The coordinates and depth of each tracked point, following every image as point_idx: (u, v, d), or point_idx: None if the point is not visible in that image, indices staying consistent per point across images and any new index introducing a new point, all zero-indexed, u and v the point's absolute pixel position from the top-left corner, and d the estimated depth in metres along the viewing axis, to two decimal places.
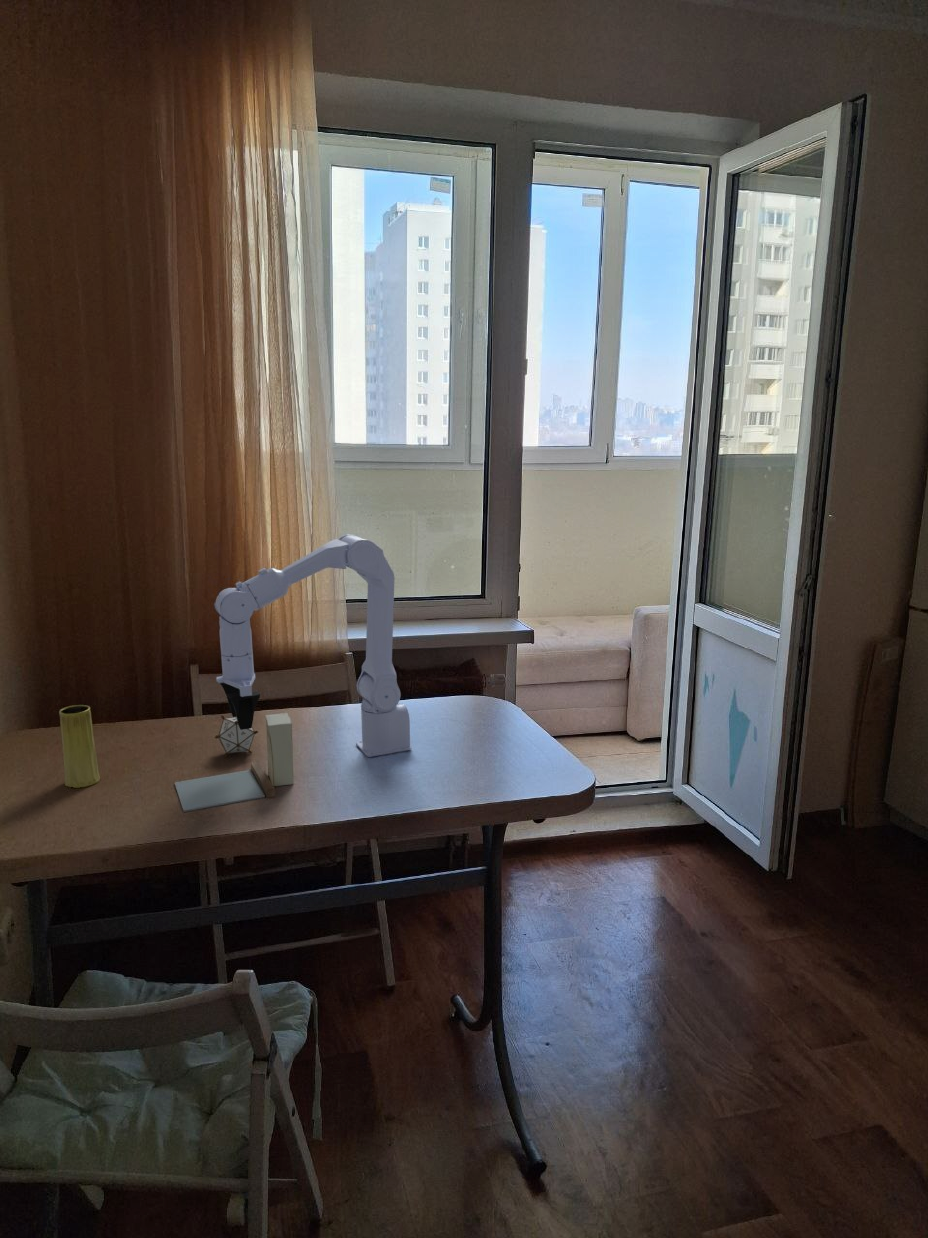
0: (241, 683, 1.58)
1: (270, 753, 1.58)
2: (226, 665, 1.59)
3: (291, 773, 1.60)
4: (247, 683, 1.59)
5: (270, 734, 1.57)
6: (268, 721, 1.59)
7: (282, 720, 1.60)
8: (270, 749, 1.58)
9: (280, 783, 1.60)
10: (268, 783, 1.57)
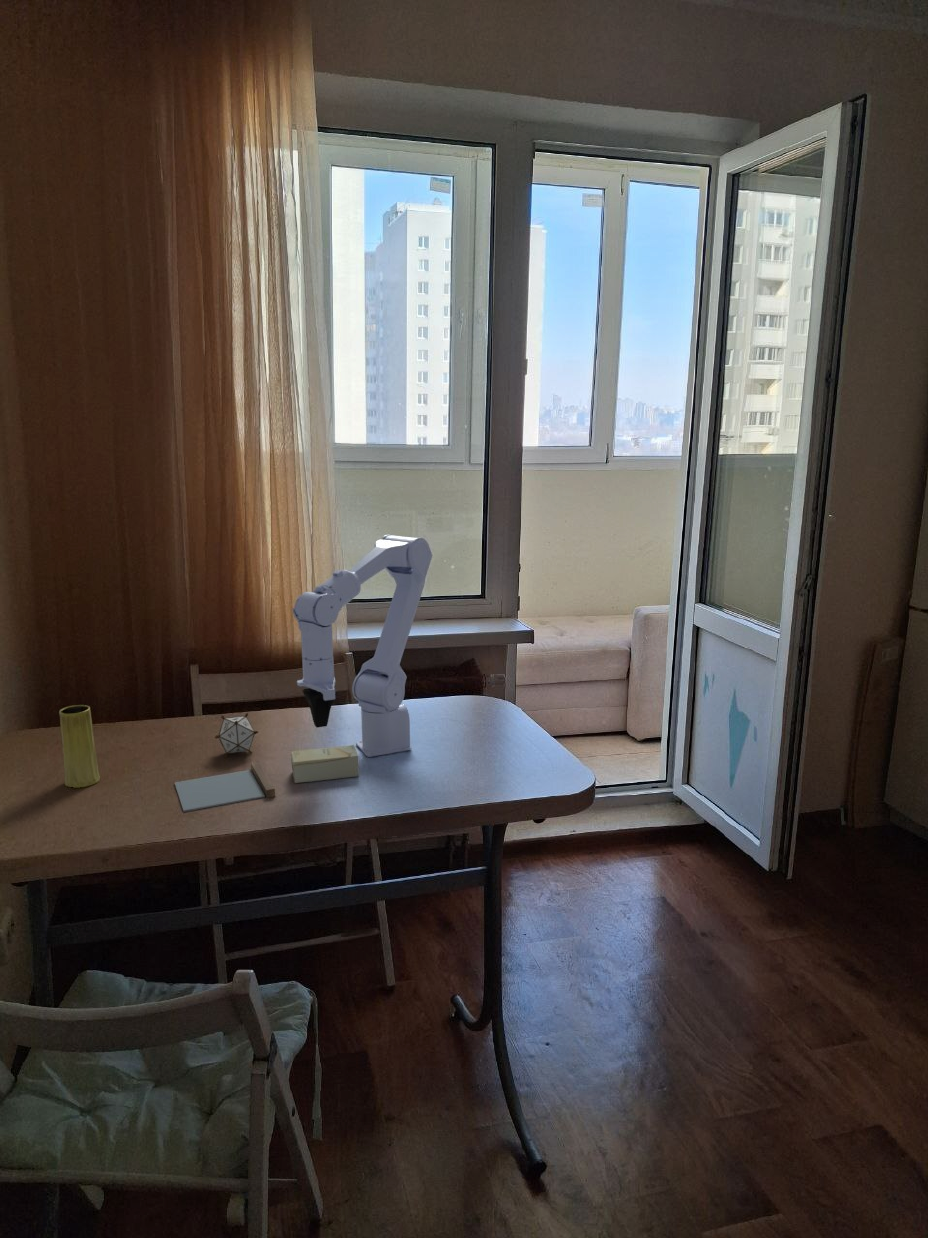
0: (323, 687, 1.58)
1: (329, 759, 1.62)
2: (308, 669, 1.59)
3: (306, 780, 1.61)
4: (329, 687, 1.58)
5: (349, 758, 1.63)
6: None
7: None
8: (333, 759, 1.62)
9: (296, 771, 1.60)
10: (268, 783, 1.57)
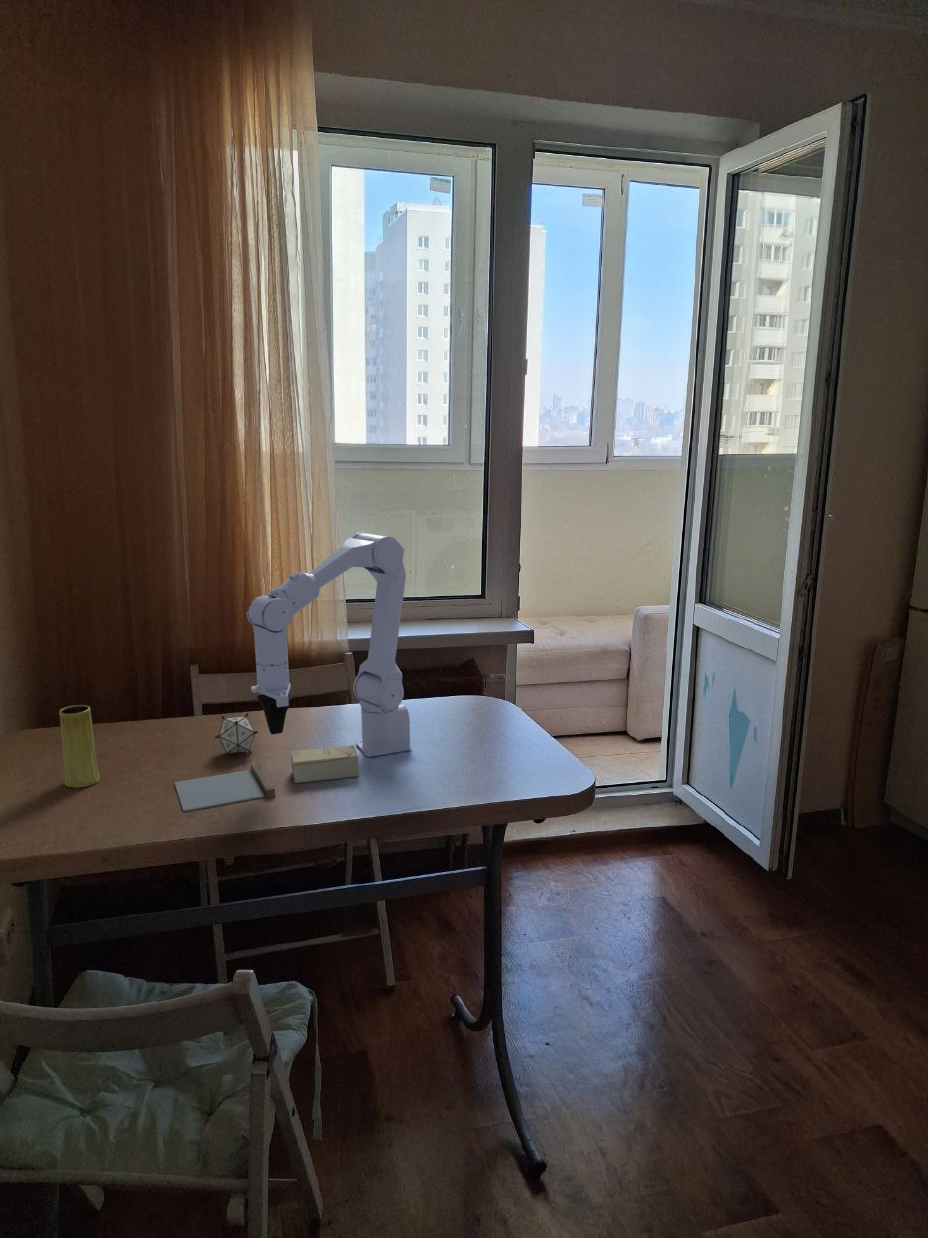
0: (277, 693, 1.54)
1: (329, 759, 1.62)
2: (261, 675, 1.56)
3: (306, 780, 1.61)
4: (283, 693, 1.55)
5: (349, 758, 1.63)
6: None
7: None
8: (333, 759, 1.62)
9: (296, 771, 1.60)
10: (268, 783, 1.57)
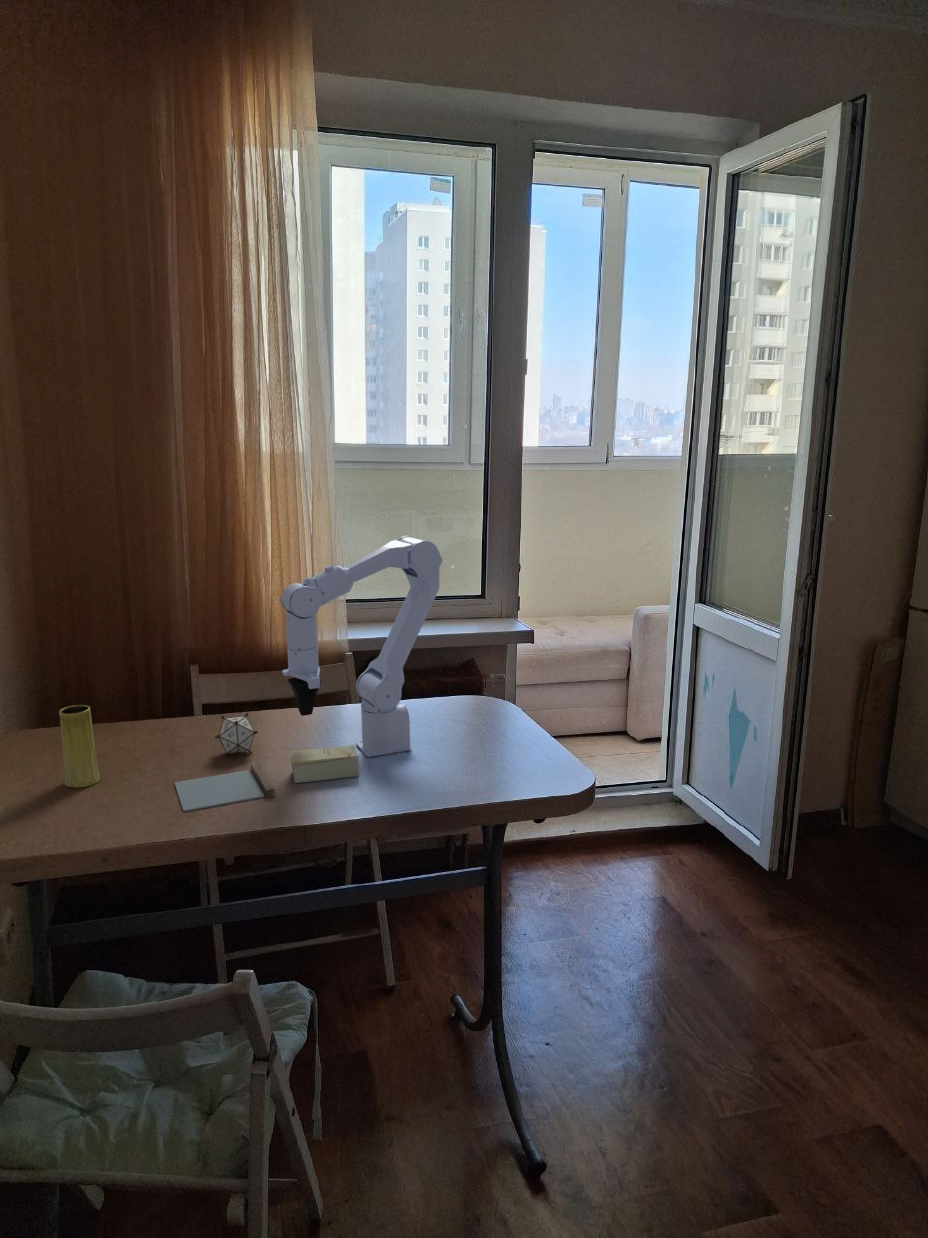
0: (308, 676, 1.62)
1: (329, 759, 1.62)
2: (293, 658, 1.64)
3: (306, 780, 1.61)
4: (314, 675, 1.63)
5: (349, 758, 1.63)
6: None
7: None
8: (333, 759, 1.62)
9: (296, 771, 1.60)
10: (268, 783, 1.57)
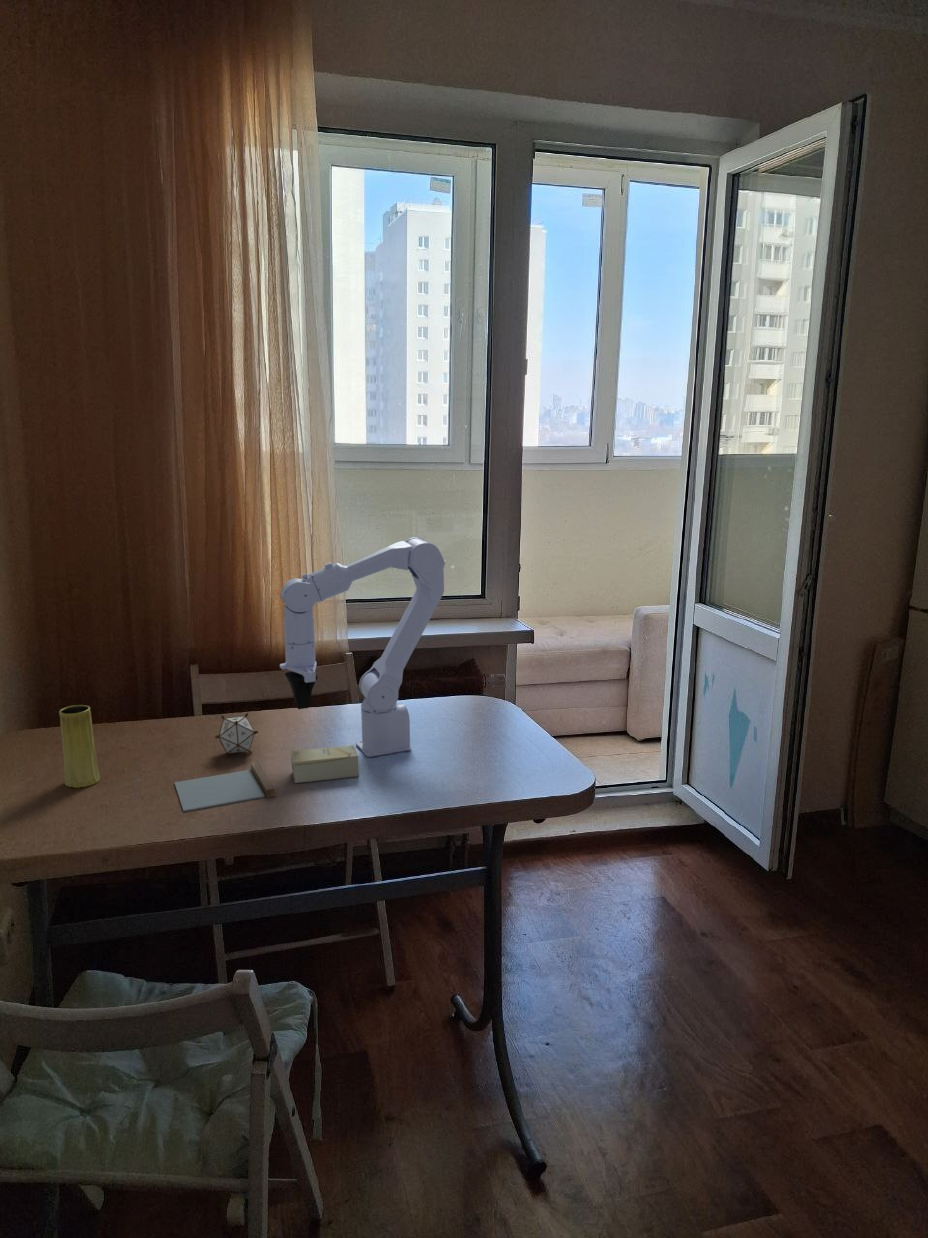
0: (305, 670, 1.65)
1: (329, 759, 1.62)
2: (290, 652, 1.66)
3: (306, 780, 1.61)
4: (310, 669, 1.66)
5: (349, 758, 1.63)
6: None
7: None
8: (333, 759, 1.62)
9: (296, 771, 1.60)
10: (268, 783, 1.57)
